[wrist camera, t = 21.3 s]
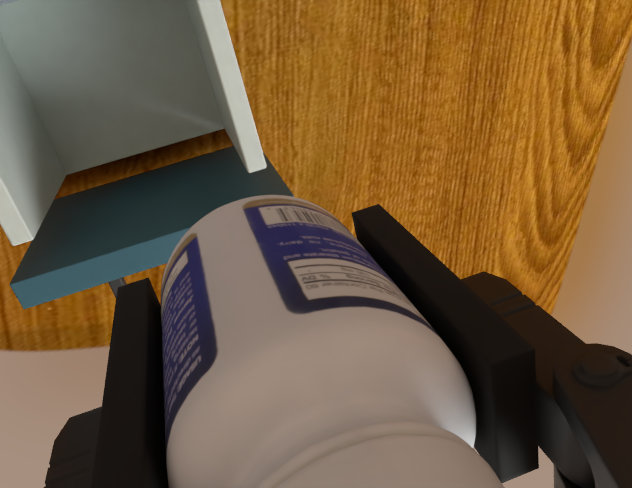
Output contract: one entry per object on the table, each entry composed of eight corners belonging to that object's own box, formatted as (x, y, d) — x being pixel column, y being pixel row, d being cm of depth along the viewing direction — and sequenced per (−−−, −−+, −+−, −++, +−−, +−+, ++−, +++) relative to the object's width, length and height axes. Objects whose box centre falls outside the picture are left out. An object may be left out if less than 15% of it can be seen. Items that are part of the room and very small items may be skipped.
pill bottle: (234, 397, 15) (313, 806, 8) (116, 266, 13) (54, 678, 5) (389, 298, 15) (627, 605, 8) (301, 148, 13) (522, 377, 5)
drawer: (283, 240, 33) (327, 324, 25) (102, 300, 32) (83, 411, 23) (182, -114, 25) (195, -174, 16) (-74, -55, 23) (-210, -88, 15)
